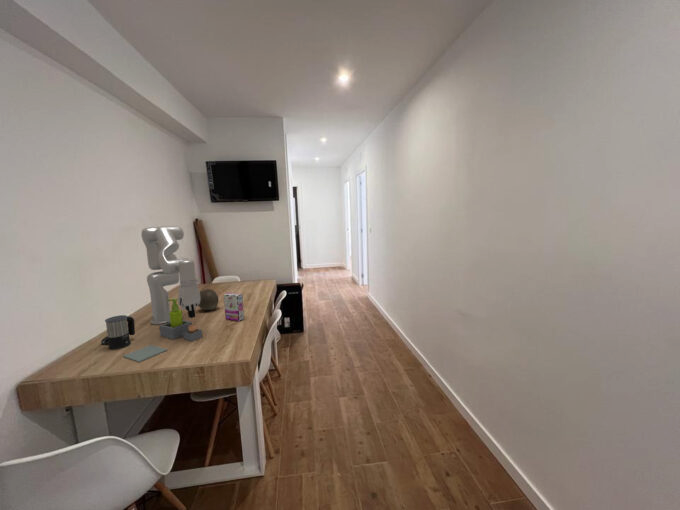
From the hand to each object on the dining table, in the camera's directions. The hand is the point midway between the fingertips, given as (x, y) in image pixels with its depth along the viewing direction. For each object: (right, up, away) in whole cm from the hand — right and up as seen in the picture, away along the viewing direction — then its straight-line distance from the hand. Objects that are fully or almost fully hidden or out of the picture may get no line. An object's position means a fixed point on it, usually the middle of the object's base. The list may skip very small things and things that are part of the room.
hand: (191, 317), depth 157 cm
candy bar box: (+12, -8, +30) cm, 34 cm away
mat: (-15, -14, -15) cm, 26 cm away
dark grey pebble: (-14, -6, +50) cm, 52 cm away
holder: (-7, -11, +6) cm, 15 cm away
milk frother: (-38, -14, -4) cm, 40 cm away
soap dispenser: (-13, -11, +8) cm, 19 cm away
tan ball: (0, -8, +1) cm, 8 cm away
